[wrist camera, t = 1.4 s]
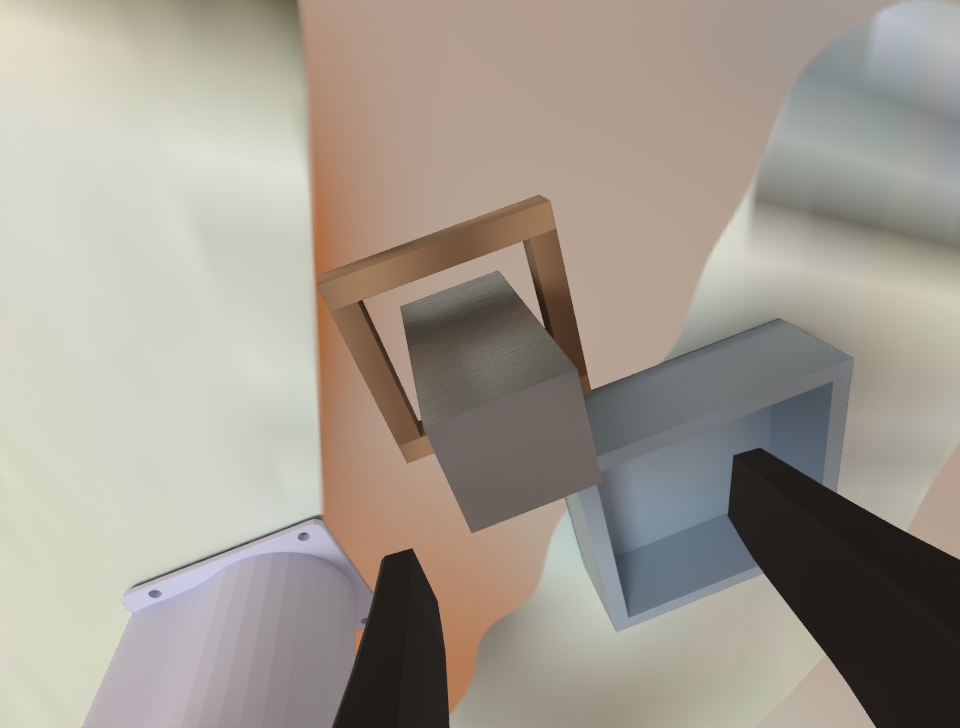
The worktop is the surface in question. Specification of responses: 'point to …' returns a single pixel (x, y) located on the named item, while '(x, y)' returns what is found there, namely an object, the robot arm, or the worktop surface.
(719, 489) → the bin
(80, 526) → the worktop surface
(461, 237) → the socket
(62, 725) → the worktop surface
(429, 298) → the strut
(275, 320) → the worktop surface
